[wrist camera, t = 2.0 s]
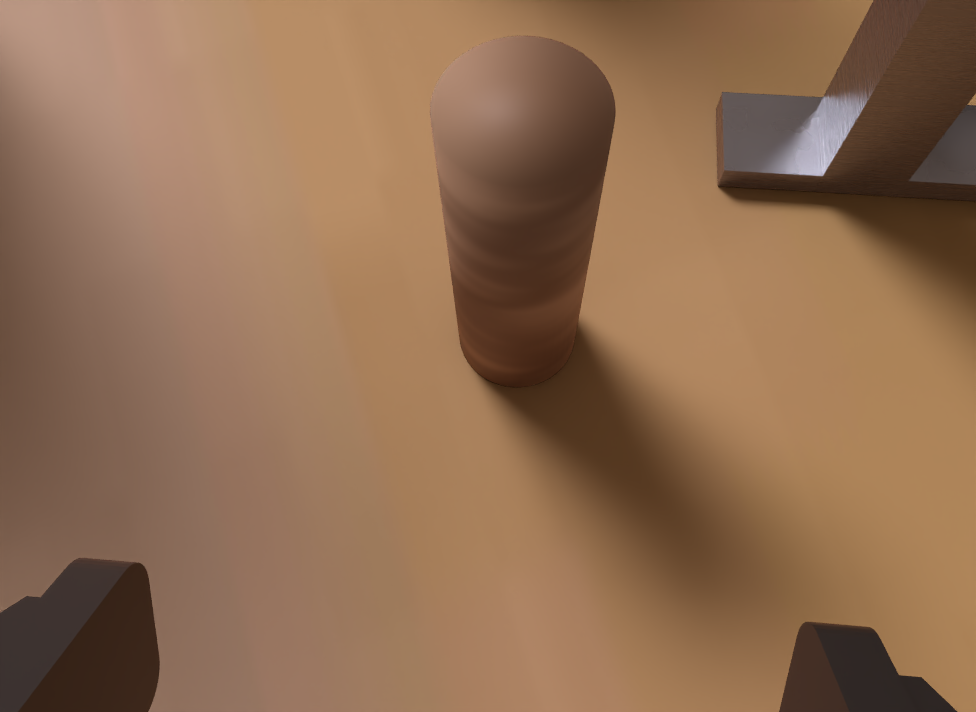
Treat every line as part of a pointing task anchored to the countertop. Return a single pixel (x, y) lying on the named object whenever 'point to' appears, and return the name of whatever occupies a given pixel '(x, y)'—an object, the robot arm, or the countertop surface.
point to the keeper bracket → (869, 114)
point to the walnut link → (520, 198)
